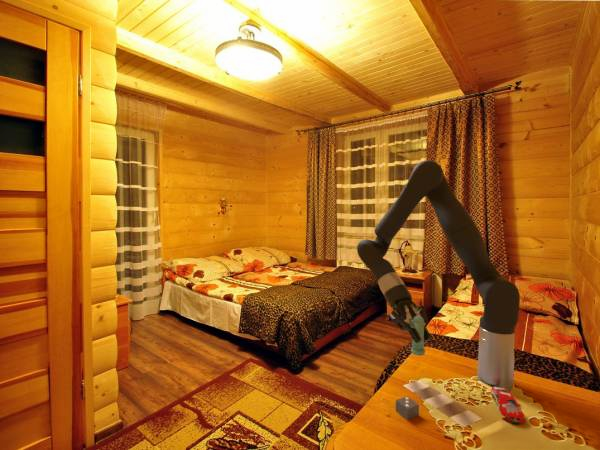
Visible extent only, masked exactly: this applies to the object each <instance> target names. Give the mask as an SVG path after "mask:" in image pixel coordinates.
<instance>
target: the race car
mask: <svg viewBox="0 0 600 450" xmlns="http://www.w3.org/2000/svg"><path fill="white" fill-rule="evenodd" d="M490 394H491V396H492V398H493V400H494V402H495V404H496V406H497V407H498V409H499V411H500V414H501V416H503V417H502V418H501V419H503V420H504V421H505V422H508V423H511V424H512V423H513V424H517V425H522V424H525V421H526V420H525V419H526V418H525V414H524V413H523V411H522V409H521V403H518V402H517V400H516V398H515V397H514V396H513V394H512V393H511V391H510V390H509V391H508V390H507V389H505V388H500V387H491V389H490Z"/></svg>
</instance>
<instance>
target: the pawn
mask: <svg viewBox="0 0 600 450" xmlns="http://www.w3.org/2000/svg"><path fill="white" fill-rule="evenodd" d="M413 325H414V328H415V329H416V330H417V332H418V334H419V335H420V337H421V339H422V340H421V341H420V342H419V343H415V342H414V340H413V339H412V338H411V343H412V345H411V347H410V352H411V355H415V356H418V357H422V356H425V354H426V349H425V348H424V347H425V340H424V319H423V318H422V317H421V316H415V317H414V318H413Z"/></svg>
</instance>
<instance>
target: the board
mask: <svg viewBox="0 0 600 450" xmlns="http://www.w3.org/2000/svg"><path fill="white" fill-rule="evenodd" d="M403 387H405V389H407V390H409V391H410V392H412V393H413V394H414V395H416V396H417V397H419V398H421V400H423V401H425V402H427V403H428V404H429V405H431V406H432V407H434V408H435V409H436V410H438V411H439V412H441V413H442V414H444V415H445V416H447V417H448V418H450V419H451V420H452V421H454V422H455V423H457V425H460V426H461V427H463V428H465V427H467V426H470V425H472V424H474V423H477V422H478V421H480V420H483V418H482V417H481V416H479V415H477V414H475V413H474V412H472V411H470V410H469V409H467V408H466V407H464V406H462V405H461V404H459V403H458V402H456V401H454V400H453V399H451V398H449V397H448V396H446V395H445V394H443V393H442V392H440V391H438V390H437V389H435V388H434V387H431V386H430V385H429V384H427V383H426V382H424V381H423V380H421V379H419V380H416V381H412V382H410V383H406V384H403Z"/></svg>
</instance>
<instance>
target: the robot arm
mask: <svg viewBox="0 0 600 450" xmlns="http://www.w3.org/2000/svg"><path fill="white" fill-rule="evenodd" d="M425 197H426V198H427V200H428V201H429V202H430V204H431V206H432V208H433V211H434V213H435V216H436V218H437V221H438V223H439V226H440V228H441V231H442V232H443V234H444V236H445V238H446V240H447V241H448V242H449V244H450V246H451V248H453V251H454V252H455V253H456V255H457V256H458V258H459V259H460V260H461V262H462V263H463V265H464V266H465V267H466V270H468V272H469V275H470V276H471V279H472V281H473V283H474V285H475V288H476V291H477V293H478V295H479V297H480V298H481V299H482V300H483V301H484V303H483V315H482V316H480V318H479V330H478V331H479V332H478V356H477V357H478V358H477V359H478V361H477V380H478V381H479V382H481V383H483V384H485V385H487V386H488V387H491V388H493V387H500V388H505V389H507V390H508V391H509V392H510V391H511V390H513V385H514V372H515V337H516V336H515V333H516V332H515V331H516V330H515V329H516V326H517V325H518V323H519V313H520V303H521V302H520V299H521V298H520V291H519V288H518V287H517V286H516V285H515V283H513V282H512V281H510V280H508V279H506V278H504V277H503V275H502V274H501V273H500V272H499V271H498V269H497V268H496V266H495V265H494V263H493V262H492V261H491V258H490V256H489V254H488V251H487V248H486V247H487V246H486V243H485V239H484V238H483V235H482V233H481V232H480V230H479V227H478V226H477V225H476V223H475V221H474V219H473V218H472V217H471V215H470V214H469V212H468V210H466V208H465V206H463V205H462V203H461V202H460V200H459V199H458V198H457V197H456V196H455V194H454V192H453V191H452V189H451V186H450V185H449V182H448V180H447V178H446V176H445V173H444V170H443V167H442V166H441V165H440V164H439V163H437V162H436V161H433V160H423V161H421V162H418V164H416V165H415V166H414V167H413V169H412V172H411V175H410V176H409V179H408V180H407V183H406V184H405V186H404V187H403V190H402V191H401V192H400V194H399V196H398V197H397V198H396V200H395V201H394V203H393V204H392V205H391V207H390V208H389V209H388V210H387V211H386V212H385V214H384V215H383V217H382V218H381V219H380V221H379V222H378V223H377V225H376V226H375V228H374V234H375V236H376V238H375V239H374V240H372V239H362V240H360V241H359V242H358V244H357V246H356V247H357V248H356V252H357V255H358V257H359V259H360V260H361V261H362V263H363V264H364V265H365V266H366V267H367V269H369V270H370V272H372V275H373V276H374V278H375V280H376V283H377V284H378V286H379V289H380V291H381V293H382V294H383V296H384V298H385V300H386V301H387V303H388V305H389V308H392V311H391V312H390V313H389V314H388V318H389V319H390V320H391V321H392V322H393V323H394V325H396V326H397V327H398V328H399V329H400V330H401V332H402V331H406V332H408V333H409V335H410V338H411V340H412V339H413V340H414V342H415V343H419V342H420V341H421V340H422V339H421V337H420V335H419V334H418V332H417V330H416V329H415V328H414V325H413V318H414V317H415V316H421V317H422V318H423V319H424V342H425V341H429V340H430V339H431V338H432V337H431V334H430V331H429V330H428V328H427V327H426V325H427V324H428V323H429V319H428V315H427V310H426V307H425V305H422V304H421V305H420V306H419V305H417V304H416V303H415V302H414V300H413V297H412V294H411V292H410V291H409V289H408V287H407V286H406V284H405V283H404V281H403V280H402V278H401V277H400V275H399V274H398V273H397V271H396V269H395V268H394V266H393V264H392V263H391V262H390V261H389V260H387V259H385V258H384V257H385V256H386V254H387V252H388V251H389V248H390V246H391V244H392V241H393V239H394V238H395V237H396V236H397V234H398V232H399V231H400V230H401V229H402V228H403V226H404V225H405V223H407V221H408V219H409V217H410V215H411V214H412V213H413V211H414V210H415V208H416V207H417V205H418V204H419V203H420V202H421V201H422V200H423V199H424V198H425Z"/></svg>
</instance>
